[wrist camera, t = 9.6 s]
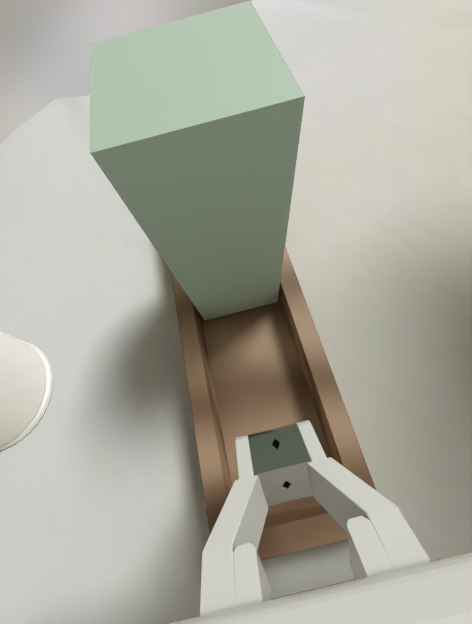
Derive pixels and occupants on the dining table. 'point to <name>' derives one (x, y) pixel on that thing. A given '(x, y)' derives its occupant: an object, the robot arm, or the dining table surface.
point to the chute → (265, 404)
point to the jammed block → (202, 149)
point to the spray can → (22, 388)
